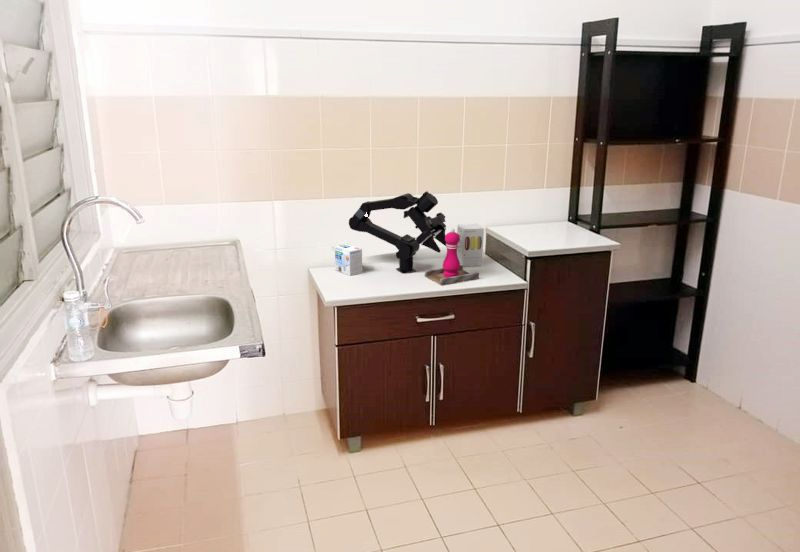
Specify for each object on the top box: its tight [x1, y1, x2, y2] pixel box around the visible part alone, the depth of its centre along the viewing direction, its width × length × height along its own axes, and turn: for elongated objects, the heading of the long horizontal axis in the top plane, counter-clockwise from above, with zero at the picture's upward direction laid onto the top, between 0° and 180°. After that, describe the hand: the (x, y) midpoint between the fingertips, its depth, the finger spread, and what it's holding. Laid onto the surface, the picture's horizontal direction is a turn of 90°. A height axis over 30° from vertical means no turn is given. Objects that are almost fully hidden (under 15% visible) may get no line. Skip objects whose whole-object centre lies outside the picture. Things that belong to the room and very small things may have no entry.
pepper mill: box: [442, 228, 460, 278], centre depth 252 cm, size 7×7×20 cm
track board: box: [424, 265, 480, 286], centre depth 255 cm, size 18×13×2 cm
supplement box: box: [456, 223, 485, 267], centre depth 273 cm, size 10×9×17 cm
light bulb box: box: [334, 243, 363, 277], centre depth 261 cm, size 11×7×11 cm, turn 42°
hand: (444, 249), depth 253 cm, fingers open, 9 cm apart
